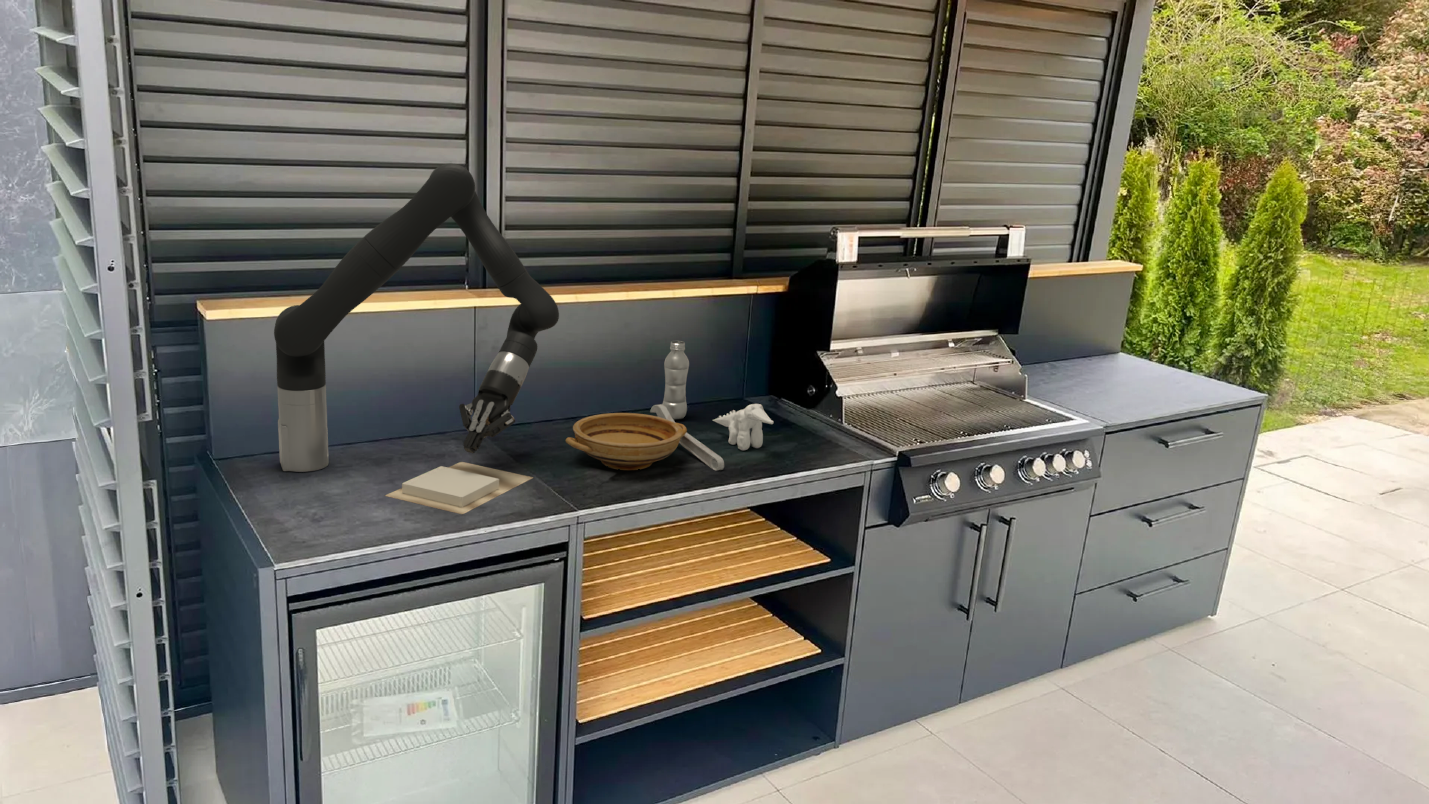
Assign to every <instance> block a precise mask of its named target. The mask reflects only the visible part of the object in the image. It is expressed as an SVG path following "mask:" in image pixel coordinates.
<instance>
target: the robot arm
mask: <svg viewBox="0 0 1429 804" xmlns="http://www.w3.org/2000/svg"><path fill="white" fill-rule="evenodd" d="M475 182H476V181H475V180H474V176H473V175H472V173H471V172H470V171H469V170H468V169H467V168H466V167H464V166H462V165H460V164H456V163H452V162H451V163H444V164H441V165H439V166H437V167H436V168H435V169H433V171H432V172H431V173H430V175H429V177H428V179H427V180H426V181H425V183H424V184H423V185H422V186H421V187H420V188H419V190H418V191H417V192H416V193H415V194H414V195H413V196H412V198H411V199H409V201H408V202H406V203H405V205H403V206H402V207H401V208H399V209H398V210H397V211H396V212H394V213H393V214H391V215H390V216H388V217H387V218H386V219H384V220H383V221H382V222H380V223H379V224H377V225H376V226H375V227H374V228H372V229H371V230H370V231H369V232H368V233H366V234H365V235H364V236H363V237H362V238H361V239H360V240H359V241H357V243H356V244H355V245H354V246H353V247H352V248H350V250H349V251H348V252H347V253H346V254H345V255H344V257H343V258H341V260H339V262H338V264H336V265H335V268H334V269H333V270H331V271H332V272H331V273H330V274H329V276H328V277H327V278H326V279H325V281H324V282H323V283H322V284H321V286H320V287H319V288H317V290H316V291H315V292H314V293H312V294H311V295H310V296H309V297H308V298H306V300H304V301H303V302H302V303H301V304H296V305H291V306H289V307H287V308H284V310H282V311H281V312H280V313H279V315H278V316H277V317H276V321H275V323H274V324H275V325H274V330H273V338H274V341H275V349H276V350H275V351H276V352H275V353H276V382H277V383H276V386H277V404H278V406H277V407H278V419H277V429H278V451H279V463H280V466H281V468H282V471H283V472H295V473H296V472H299V473H302V472H303V473H304V472H305V473H307V472H314V471H318V470H321V469H322V470H323V469H324V468H326V467H327V466H329V454H330V453H329V439H328V437H329V434H328V432H329V431H328V407H327V385H326V384H327V382H326V381H327V380H326V378H327V377H326V356H325V355H326V354H325V352H326V351H325V340H326V339H327V338H328V337H329V335H331V334H332V332H333V331H334V330H335V328H337V327H338V325H339V324H340V323H341V322H342V321H343V319H344V318H346V316H347V315H348V314H350V313H351V312H352V311H353V310H355V308H357V307H359V306H360V305H361V304H362V303H363V302H364V301H366V300H367V299H368V298H369V297H371V296H372V295H373V294H374V293H376V291H377V290H379V289H380V288H381V287H382V286H383V285H384V284H386V283H387V282H388V281H389V280H390V279H391V278H392V277H393V276H394V275H395V274H396V273H398V271H399V270H400V269H401V268H402V267H403V266H404V265H405V264H406V263H407V262H408V261H409V259H410V258H412V257H413V255H414V254H415V253H416V252H417V250H419V248H420V247H421V245H422V244H424V242H425V241H426V239H427V238H429V236H430V235H431V234H432V233H433V232H434V231H435V230H436V229H438V228H439V227H440V226H442V224H443V223H445V222H446V221H447V220H449V219H450V218H451V219H452V220H453V221H454V223H456V225H457V226H458V227H459V229H460V230H461V232H462V233H463V234H464V236H465V237H466V239H467V240H468V241H469V243H470V245H471V247H472V248H473V250H474V252H475V253H476V255H477V257H478V259H479V260H480V262H481V264H482V265H483V268H485V271H487V274H488V275H489V276H490V278H491V279H492V281H493V283H494V284H495V285H496V287H497V289H498V290H499V291H500V292H501V294H502V295H503V296H504V297H506V298H511V299H514V300H516V301H518V302H519V305H518V306H516V308H515V309H514V311H513V312H512V314H511V317H510V320H509V324H508V328H507V333H506V338H505V339H504V341H503V343H502V345H501V347H500V349H499V351H498V353H497V355H495V357H494V358H493V361H492V362H491V364H490V366H489V368H488V370H487V372H486V373H485V375H484V378H483V379H482V382H480V383H481V384H480V386H479V388H478V393H477V395H476V396H475V397H473V399H472V401H471V402H470V403H469V404H465V403H460V405H459V406H458V408H459V413H460V418H461V421H462V426H463V427H464V428H465V429H466V431H467V432H468V433H467V435H466V438H465V439H464V441H463V444H462V445H463V450H465V451H466V453H472V454H475V453H476V452H477V451H478V450H479V449H480V447H481V445H482V443H483V440H484V439H485V438H488V437H491V438H494V437H495V436H497V435H499V434H500V433H502V432H503V431H505V430H506V429H507V428H509V427H510V426H512V425H513V424H515V423H516V419H515V417H514V416H513V415H512V414H511V406H512V405H513V404H514V402H515V401H516V398H517V396H518V394H519V393H520V390H521V388H522V386H523V384H524V381H525V380H526V377H527V374H528V372H529V368H530V367H531V365H532V363H533V361H534V359H535V356H536V354H537V352H538V346H539V345H538V342H537V341H536V340H535V339H536V336H537V335H538V333H539V332H543V331H545V330H549V329H551V328H553V327H555V326H556V325H557V323H558V322H559V318H560V311H559V307H558V304H557V302H556V300H555V299H554V298H553V297H552V296H551V294H550V293H549V292H548V291H547V290H546V289H545V288H544V287H543V286H542V285H541V284H539V282H538V281H536V279H534V278H533V277H532V276H531V275H530V274H529V272H528V270H527V269H526V267H525V265H524V264H523V263H522V261H521V259H520V258H519V256H518V255H517V253H516V252H515V251H514V250H513V248H512V246H511V245H510V244H509V242H508V241H507V240H506V239H505V238H504V236H503V235H502V234H501V232H500V231H499V230H498V228H497V227H496V226H495V224H494V223H493V221H492V220H491V219H490V217H489V215H488V214H487V211H486V210H485V208H484V206H483V205H482V203H481V200H480V199H479V197H478V194H477V191H476V183H475Z"/></svg>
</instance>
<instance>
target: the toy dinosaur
mask: <svg viewBox="0 0 1429 804" xmlns="http://www.w3.org/2000/svg"><path fill="white" fill-rule="evenodd" d="M712 421H713V422H715V423H717V424H719V425H722V426H724V427H726V428H728V431H729V438H728V443H729V444H730V445H732V446H734V445H736V444H737V449H739V450H740V451H746V450H748V449H749V448H750V446H751V448H752V447H753V448H754V449H760V448H761V447H762V446H763V441H764V434H763V430H762V428H763V423H764V424H769V425H773V424H774V420H772V418H770V417H769V415H768V414H767V413H766V411H765V410H764V407H763V405H762V404H759V403H752V404H749V405H747V406H746V407H745V408H743V409H740V410H737V411H736V410H734V409H733V410H731V411H729V413H726V415H725V414H724V415H718V417H717V418H715V419H712Z"/></svg>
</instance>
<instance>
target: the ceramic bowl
mask: <svg viewBox="0 0 1429 804" xmlns="http://www.w3.org/2000/svg"><path fill="white" fill-rule="evenodd" d="M572 430H573V433H574V437H570V436H569V437H567V438H566V439H565V443H566V444H567V445H569V446H571V447H572V448H574V449H577V450H579V451H582V452H584V453H585V454H586V455H587V456H590V457H592V458H593V459H596V460H598V461H601V463H602V464H603V466H606V467H607V466H608V467H607V468H610V469H614V470H618V469H620V471H639V470H638V469H640V470H644V469H647V468H649V467H651V466H652V464H653V463H655V462H657V461H661V460H664V459H665V458H668V457H669V456H671V455H672V454H673V453H674V452H675V450H676V449H677V447H678V446H679V442H680V438H682V437H683V436H684V435H685V434H686V432H687V431H688V429H687V427H686V425H684V424H682V423H679V422H675V423H674V422H672V421H670V420H667V419H664V418H660V417H658V416H657V415H650V414H645V413H644V414H643V413H634V412H633V413H632V412H614V413H613V412H612V413H611V412H610V413H601V414H595V415H590V416H586V417H583V418H581V419H579V420H578V421H576V422H574V424H573V425H572ZM687 433H688V432H687Z"/></svg>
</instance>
